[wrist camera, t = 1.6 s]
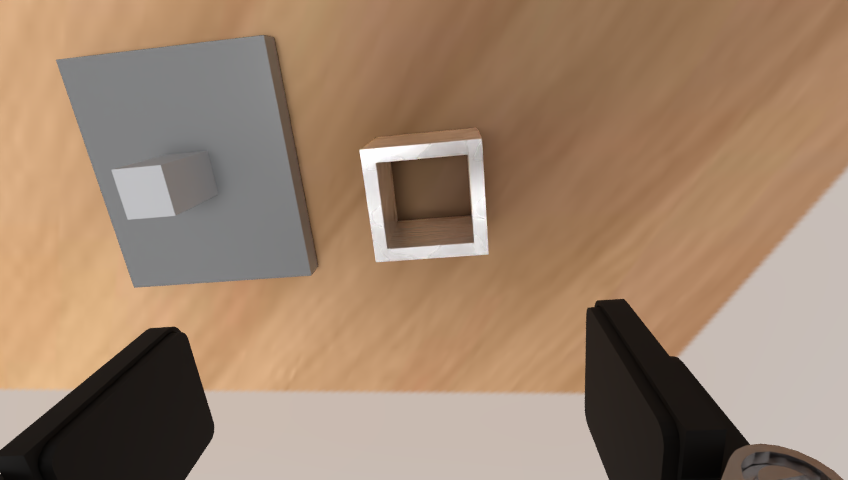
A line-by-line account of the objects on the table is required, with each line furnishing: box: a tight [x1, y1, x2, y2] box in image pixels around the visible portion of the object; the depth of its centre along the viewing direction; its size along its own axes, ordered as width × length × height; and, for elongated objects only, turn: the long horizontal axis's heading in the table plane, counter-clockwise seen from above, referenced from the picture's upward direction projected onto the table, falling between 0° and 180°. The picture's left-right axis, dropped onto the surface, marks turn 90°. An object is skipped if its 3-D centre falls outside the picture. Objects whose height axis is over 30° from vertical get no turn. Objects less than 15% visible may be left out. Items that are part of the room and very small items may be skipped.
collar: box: [360, 127, 488, 262], centre depth 26 cm, size 6×6×5 cm
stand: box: [56, 35, 318, 288], centre depth 26 cm, size 12×14×6 cm
